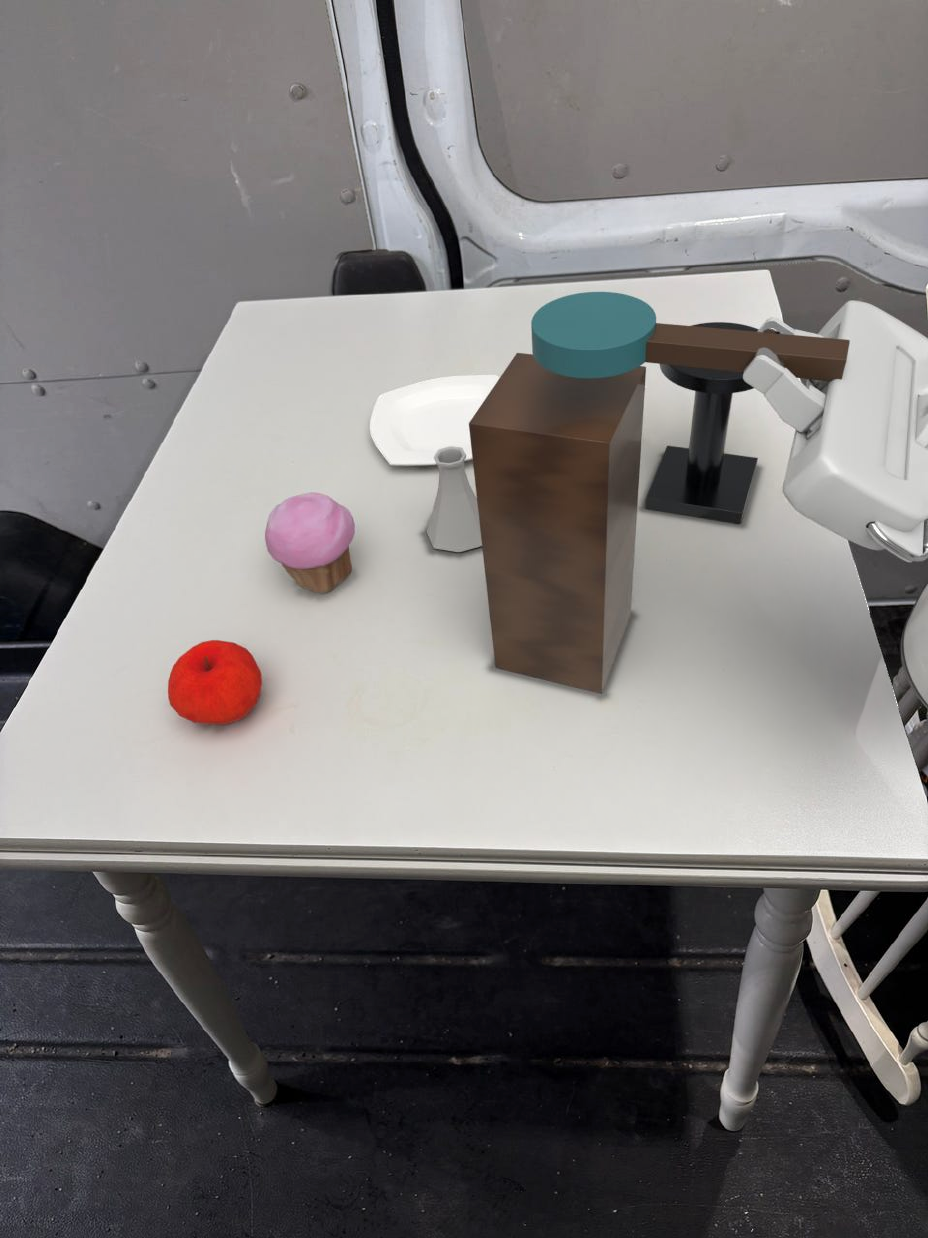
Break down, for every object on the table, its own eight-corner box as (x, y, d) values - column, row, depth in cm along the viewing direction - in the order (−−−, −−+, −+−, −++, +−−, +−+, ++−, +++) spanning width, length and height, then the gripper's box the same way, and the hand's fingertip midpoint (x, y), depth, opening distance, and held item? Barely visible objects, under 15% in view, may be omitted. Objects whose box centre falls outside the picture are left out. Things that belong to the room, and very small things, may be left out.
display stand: (761, 466, 93) (787, 327, 81) (744, 528, 86) (771, 385, 74) (662, 452, 97) (674, 317, 85) (639, 510, 90) (648, 372, 78)
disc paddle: (848, 340, 53) (855, 310, 51) (836, 407, 48) (844, 375, 46) (553, 314, 59) (552, 287, 58) (515, 371, 54) (514, 342, 53)
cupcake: (381, 566, 88) (363, 489, 81) (332, 619, 83) (308, 543, 76) (315, 543, 91) (292, 468, 84) (264, 593, 87) (236, 518, 79)
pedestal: (630, 615, 79) (646, 366, 61) (601, 693, 73) (609, 443, 55) (530, 594, 83) (516, 352, 64) (495, 668, 76) (468, 423, 58)
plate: (540, 459, 98) (540, 445, 97) (378, 488, 97) (375, 474, 96) (509, 378, 111) (508, 365, 110) (366, 403, 111) (364, 389, 109)
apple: (184, 755, 73) (153, 703, 68) (184, 688, 78) (156, 635, 73) (275, 733, 74) (251, 679, 68) (268, 668, 79) (246, 613, 74)
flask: (493, 552, 87) (486, 474, 80) (425, 556, 88) (411, 479, 81) (493, 508, 93) (486, 431, 85) (428, 513, 93) (416, 437, 86)
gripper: (889, 604, 48) (691, 476, 47) (904, 415, 61) (748, 310, 60) (984, 542, 43) (765, 397, 42) (978, 350, 56) (810, 235, 55)
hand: (755, 345), depth 51 cm, fingers closed on disc paddle, 2 cm apart
